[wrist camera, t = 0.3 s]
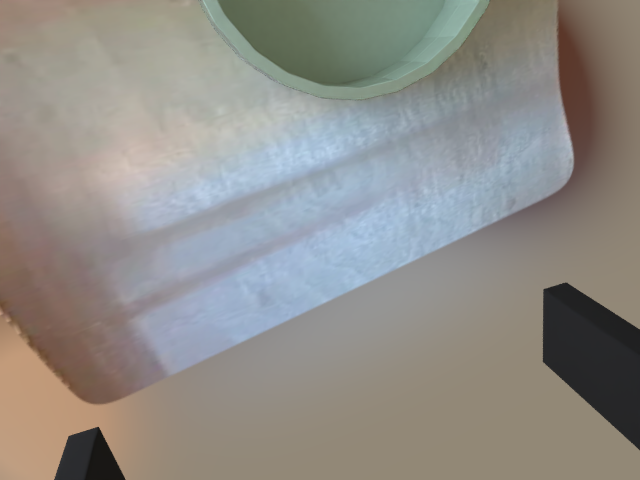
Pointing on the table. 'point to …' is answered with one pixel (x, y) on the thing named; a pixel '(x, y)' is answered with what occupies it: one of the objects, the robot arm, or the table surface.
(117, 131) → the table surface
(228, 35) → the bowl
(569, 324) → the robot arm
